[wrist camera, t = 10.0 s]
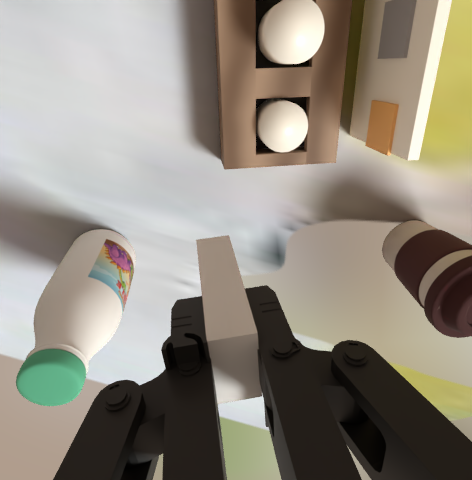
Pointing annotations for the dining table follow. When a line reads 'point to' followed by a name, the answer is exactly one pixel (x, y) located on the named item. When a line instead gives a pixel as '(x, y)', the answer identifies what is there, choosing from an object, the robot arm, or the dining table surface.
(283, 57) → the button
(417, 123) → the pattern card
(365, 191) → the dining table surface
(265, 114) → the button
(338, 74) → the button board
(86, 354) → the milk bottle
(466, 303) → the coffee cup
